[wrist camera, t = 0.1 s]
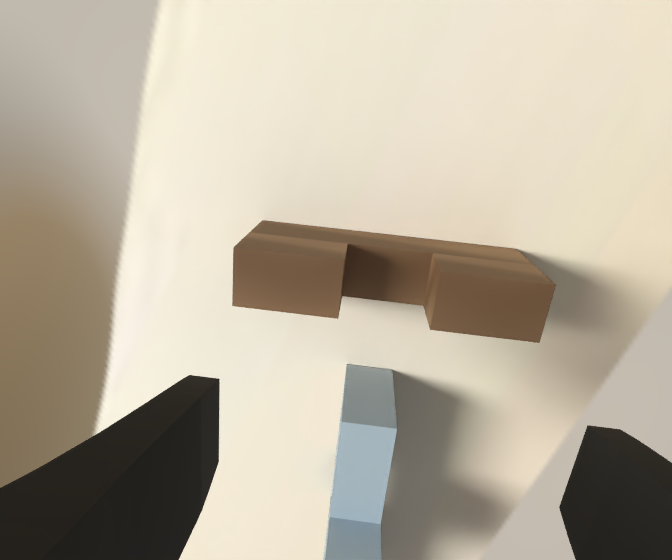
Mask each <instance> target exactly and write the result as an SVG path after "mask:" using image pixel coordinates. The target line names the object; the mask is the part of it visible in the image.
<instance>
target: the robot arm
mask: <svg viewBox="0 0 672 560" xmlns="http://www.w3.org/2000/svg"><path fill="white" fill-rule="evenodd" d="M218 462H219V379H216V378H208V377H200V376H192V375H189V376H187V377H185V378H184V379H182V380H180V381H179V382H177V383H176V384H174V385H173V386H171V387H170V388H168V389H167V390H165V391H163V392H162V393H160V394H159V395H157V396H156V397H154V398H153V399H151V400H150V401H148V402H147V403H145V404H144V405H142V406H141V407H139V408H138V409H136V410H134V411H133V412H131V413H130V414H128V415H127V416H125V417H123V418H122V419H120V420H119V421H117V422H116V423H114V424H112V425H111V426H109V427H108V428H106V429H105V430H103V431H101V432H100V433H98V434H96V435H95V436H93V437H91V438H89V439H88V440H86V441H84V442H83V443H81V444H79V445H77V446H76V447H74V448H72V449H71V450H69V451H67V452H65V453H64V454H62V455H60V456H59V457H57V458H55V459H53V460H52V461H50V462H48V463H47V464H45V465H43V466H41V467H39V468H38V469H36V470H34V471H32V472H30V473H28V474H27V475H25V476H23V477H21V478H19V479H17V480H15V481H13V482H11V483H9V484H8V485H5V486H3V487H1V488H0V560H179V558H180V556H181V554H182V551H183V549H184V547H185V545H186V543H187V541H188V539H189V537H190V535H191V532H192V530H193V528H194V526H195V524H196V522H197V520H198V518H199V515H200V513H201V511H202V508H203V506H204V503H205V500H206V497H207V494H208V492H209V489H210V486H211V483H212V480H213V477H214V474H215V471H216V468H217V465H218ZM560 511H561V515H562V518H563V521H564V525H565V528H566V531H567V535H568V538H569V541H570V544H571V547H572V550H573V553H574V555H575V559H576V560H672V463H671V462H670V461H668V460H667V459H665V458H664V457H662V456H661V455H659V454H658V453H656V452H655V451H653V450H652V449H651V448H649V447H648V446H646V445H644V444H643V443H641V442H640V441H638V440H637V439H635V438H634V437H632V436H630V435H628V434H627V433H625V432H623V431H622V430H620V429H612V428H604V427H596V426H587V429H586V432H585V435H584V438H583V440H582V443H581V446H580V449H579V452H578V455H577V458H576V461H575V464H574V466H573V469H572V472H571V475H570V478H569V481H568V484H567V487H566V490H565V492H564V495H563V498H562V501H561V504H560Z"/></svg>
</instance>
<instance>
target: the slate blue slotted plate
mask: <svg viewBox="0 0 672 560" xmlns="http://www.w3.org/2000/svg"><path fill="white" fill-rule="evenodd" d="M396 432H397V421H396V409H395V397H394V385H393V372H392V370H389V369H381V368H373V367H365V366H357V365H349V364H347V368H346V376H345V384H344V393H343V401H342V409H341V417H340V426H339V434H338V442H337V451H336V461H335V470H334V479H333V488H332V496H331V501H330V509H329V517H328V526H327V534H326V542H325V551H324V559H323V560H381V519H382V513H383V507H384V501H385V496H386V490H387V484H388V478H389V473H390V467H391V461H392V455H393V450H394V444H395V438H396Z"/></svg>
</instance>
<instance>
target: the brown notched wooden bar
mask: <svg viewBox="0 0 672 560" xmlns="http://www.w3.org/2000/svg"><path fill="white" fill-rule="evenodd" d="M555 286H556V284H555V283H553V282H552V281H551V280H550V279H549V278H548V277H547V276H546V275H545V274H544V273H542V272H541V271H540V270H539V269H538V268H537V267H536V266H535V265H534V264H532V263H531V262H530V261H529V260H528V259H527V258H526V257H525V256H524V255H523V254H521V253H520V252H519V251H518V250H517V249H512V248H503V247H494V246H485V245H476V244H467V243H459V242H450V241H441V240H432V239H423V238H414V237H405V236H396V235H387V234H379V233H370V232H361V231H352V230H343V229H334V228H325V227H316V226H308V225H299V224H290V223H281V222H272V221H263V220H262V221H261V222H260V223H259V224H258V225H257V226H256V227H255V228H254V229H253V230H252V231H251V232H250V233H249V234H248V235H246V236H245V237H244V238H243V239H242V240H241V241H240V242H239V243H238V244H237V245H236V246H235V247H234V253H233V304H232V306H238V307H246V308H254V309H262V310H271V311H279V312H287V313H296V314H304V315H312V316H321V317H329V318H337V319H338V316H339V310H340V305H341V299H342V296H347V297H355V298H364V299H372V300H381V301H389V302H398V303H406V304H415V305H423V306H424V309H425V313H426V316H427V320H428V323H429V327H430V330H437V331H446V332H454V333H462V334H471V335H479V336H487V337H496V338H504V339H512V340H521V341H529V342H537V343H539V342H540V339H541V335H542V332H543V328H544V325H545V321H546V318H547V314H548V311H549V307H550V304H551V300H552V297H553V293H554V289H555Z"/></svg>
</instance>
